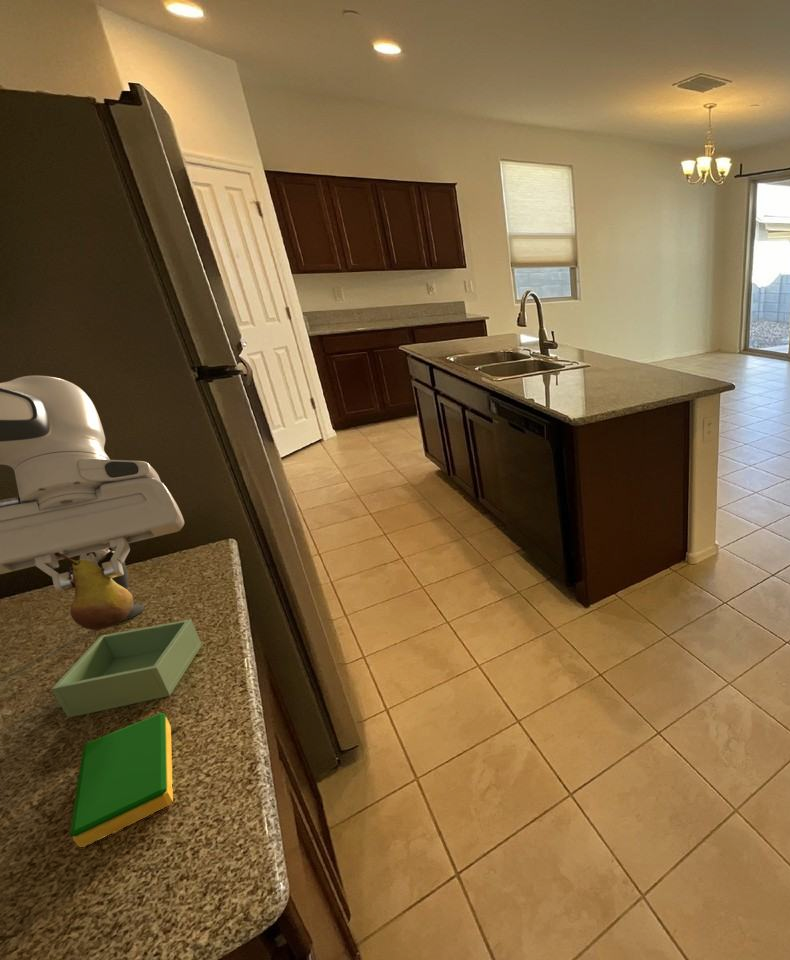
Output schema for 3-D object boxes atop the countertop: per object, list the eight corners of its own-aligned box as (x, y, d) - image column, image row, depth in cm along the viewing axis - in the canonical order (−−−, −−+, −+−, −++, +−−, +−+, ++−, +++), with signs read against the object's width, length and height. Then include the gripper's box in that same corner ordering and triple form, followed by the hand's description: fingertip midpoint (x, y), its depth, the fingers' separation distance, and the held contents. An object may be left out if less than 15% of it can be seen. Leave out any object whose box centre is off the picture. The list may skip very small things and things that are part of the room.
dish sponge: (171, 725, 65) (164, 710, 64) (173, 805, 55) (165, 789, 54) (92, 758, 61) (83, 743, 60) (79, 852, 51) (68, 835, 50)
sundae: (100, 611, 86) (60, 532, 81) (153, 597, 90) (118, 520, 84) (92, 632, 82) (49, 549, 76) (148, 616, 85) (111, 536, 79)
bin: (67, 718, 66) (50, 689, 64) (114, 662, 75) (100, 635, 74) (170, 695, 69) (156, 667, 67) (202, 644, 79) (191, 618, 77)
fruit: (142, 623, 69) (114, 542, 65) (81, 643, 65) (46, 558, 60) (135, 606, 72) (108, 528, 68) (76, 624, 68) (43, 542, 64)
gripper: (-68, 499, 60) (-51, 608, 57) (162, 459, 72) (186, 547, 69) (-36, 520, 65) (-19, 621, 62) (174, 479, 77) (197, 562, 74)
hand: (91, 582), depth 66 cm, fingers closed on fruit, 3 cm apart
